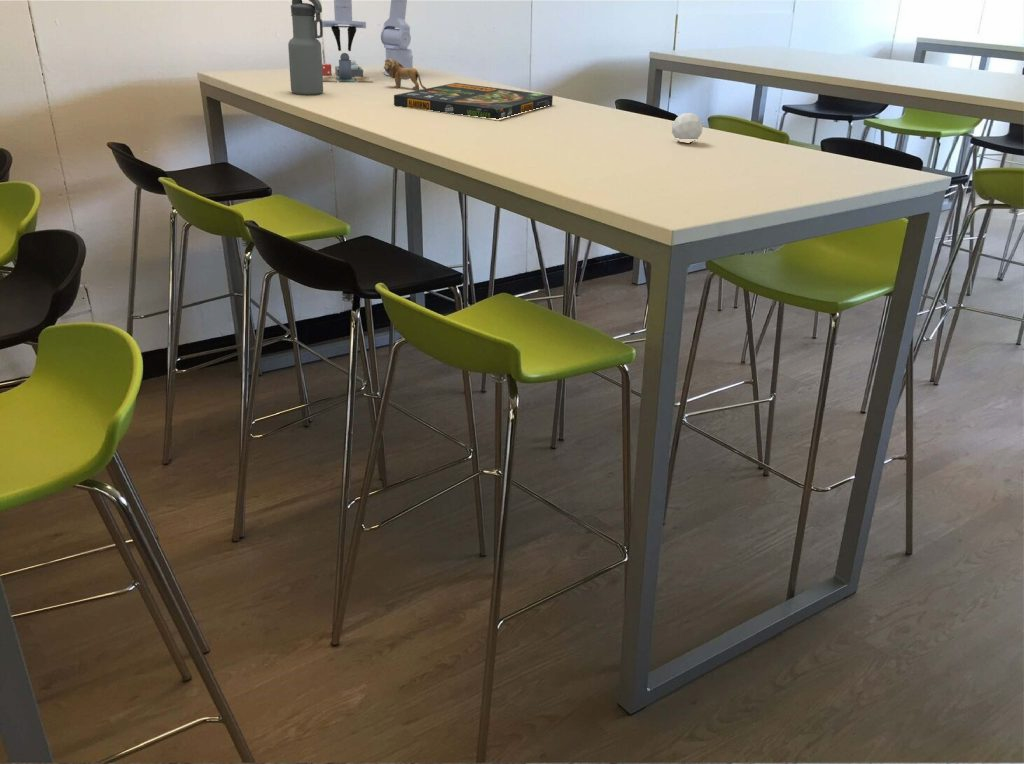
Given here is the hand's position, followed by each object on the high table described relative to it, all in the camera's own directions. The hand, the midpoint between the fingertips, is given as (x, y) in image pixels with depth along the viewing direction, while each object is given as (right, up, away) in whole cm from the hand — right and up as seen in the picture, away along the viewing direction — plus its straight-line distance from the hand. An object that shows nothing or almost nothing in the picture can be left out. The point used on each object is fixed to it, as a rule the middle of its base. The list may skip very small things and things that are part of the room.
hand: (344, 50), depth 298 cm
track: (0, -8, +4) cm, 9 cm away
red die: (-9, -4, +13) cm, 16 cm away
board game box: (+45, -28, -30) cm, 61 cm away
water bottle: (-7, -22, -24) cm, 33 cm away
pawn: (0, -8, +4) cm, 9 cm away
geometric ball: (+102, -49, -67) cm, 131 cm away
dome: (-1, -3, +15) cm, 15 cm away
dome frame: (-1, -3, +15) cm, 15 cm away
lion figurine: (+21, -15, -6) cm, 26 cm away
